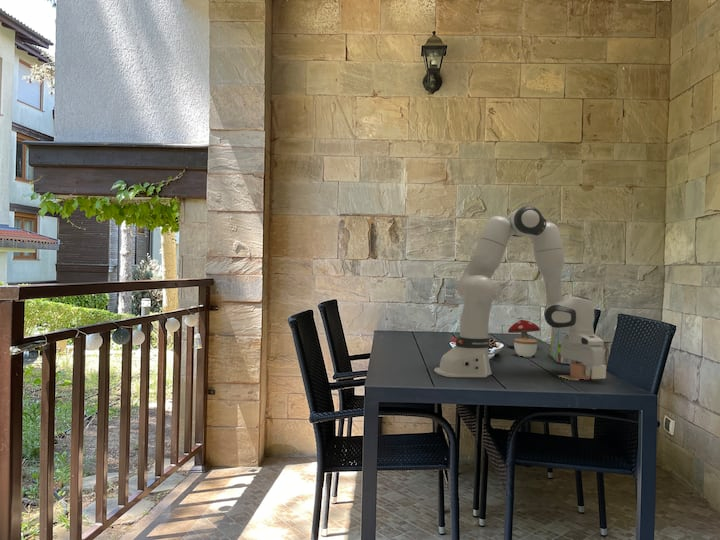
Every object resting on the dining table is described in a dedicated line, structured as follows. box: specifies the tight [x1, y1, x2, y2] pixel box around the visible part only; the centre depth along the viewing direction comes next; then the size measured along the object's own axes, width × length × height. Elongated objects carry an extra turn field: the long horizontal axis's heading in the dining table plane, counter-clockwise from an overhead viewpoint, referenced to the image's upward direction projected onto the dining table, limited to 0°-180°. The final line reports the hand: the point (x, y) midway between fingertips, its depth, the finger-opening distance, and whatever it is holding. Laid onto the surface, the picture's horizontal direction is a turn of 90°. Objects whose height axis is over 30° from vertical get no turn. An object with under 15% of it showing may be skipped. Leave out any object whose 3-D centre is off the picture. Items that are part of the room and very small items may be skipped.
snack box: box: [550, 326, 577, 365], centre depth 238 cm, size 22×9×26 cm, turn 168°
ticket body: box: [580, 362, 607, 380], centre depth 202 cm, size 6×6×5 cm
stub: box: [569, 362, 591, 380], centre depth 201 cm, size 4×6×5 cm, turn 16°
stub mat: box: [558, 374, 580, 381], centre depth 199 cm, size 4×7×1 cm, turn 16°
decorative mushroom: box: [507, 319, 541, 339], centre depth 270 cm, size 16×16×15 cm
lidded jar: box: [513, 337, 538, 358], centre depth 246 cm, size 11×11×9 cm
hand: (579, 373), depth 201 cm, fingers closed on stub, 6 cm apart
